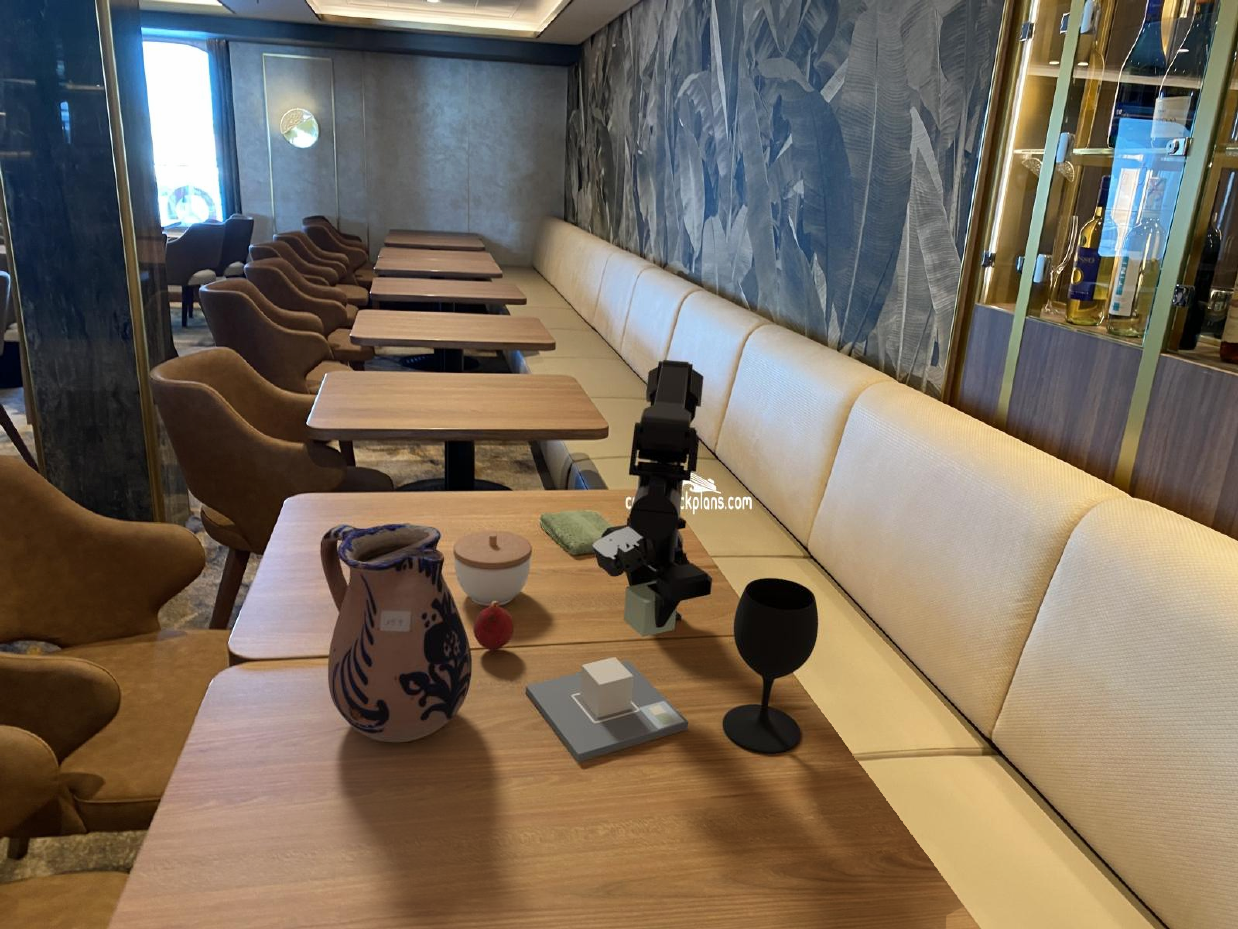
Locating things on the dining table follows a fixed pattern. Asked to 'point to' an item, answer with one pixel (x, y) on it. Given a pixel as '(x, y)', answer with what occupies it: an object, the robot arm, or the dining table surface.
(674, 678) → the dining table surface
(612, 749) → the slate board
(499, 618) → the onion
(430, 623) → the ceramic pitcher
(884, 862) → the dining table surface
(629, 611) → the sage block
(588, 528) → the washcloth
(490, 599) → the lidded bowl
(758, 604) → the wine glass
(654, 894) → the dining table surface
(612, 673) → the cream block
